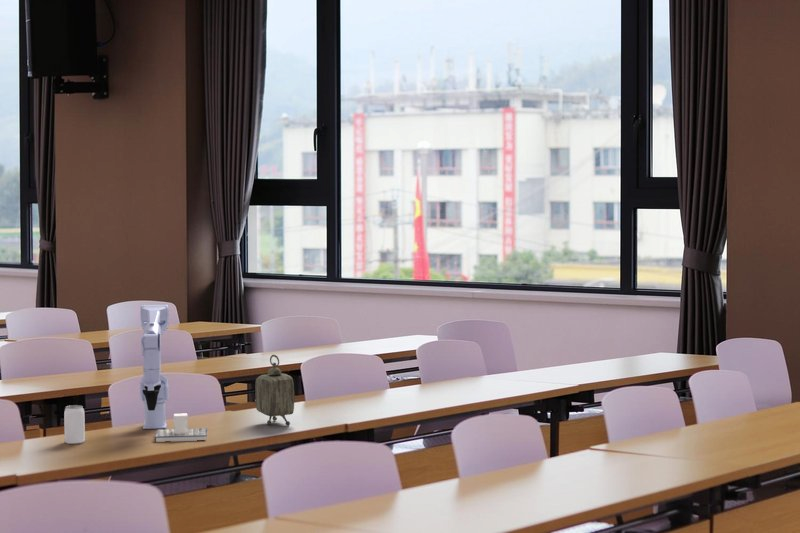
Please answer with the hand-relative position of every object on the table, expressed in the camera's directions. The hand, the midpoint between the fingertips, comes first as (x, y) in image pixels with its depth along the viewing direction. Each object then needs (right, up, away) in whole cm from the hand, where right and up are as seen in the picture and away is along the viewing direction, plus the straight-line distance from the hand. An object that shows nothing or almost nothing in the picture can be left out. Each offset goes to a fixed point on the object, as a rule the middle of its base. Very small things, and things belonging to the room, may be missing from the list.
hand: (152, 408), depth 401 cm
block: (+10, -8, -3) cm, 13 cm away
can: (-24, -10, -10) cm, 28 cm away
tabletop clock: (+39, -8, +20) cm, 45 cm away
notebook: (+11, -10, -3) cm, 15 cm away
